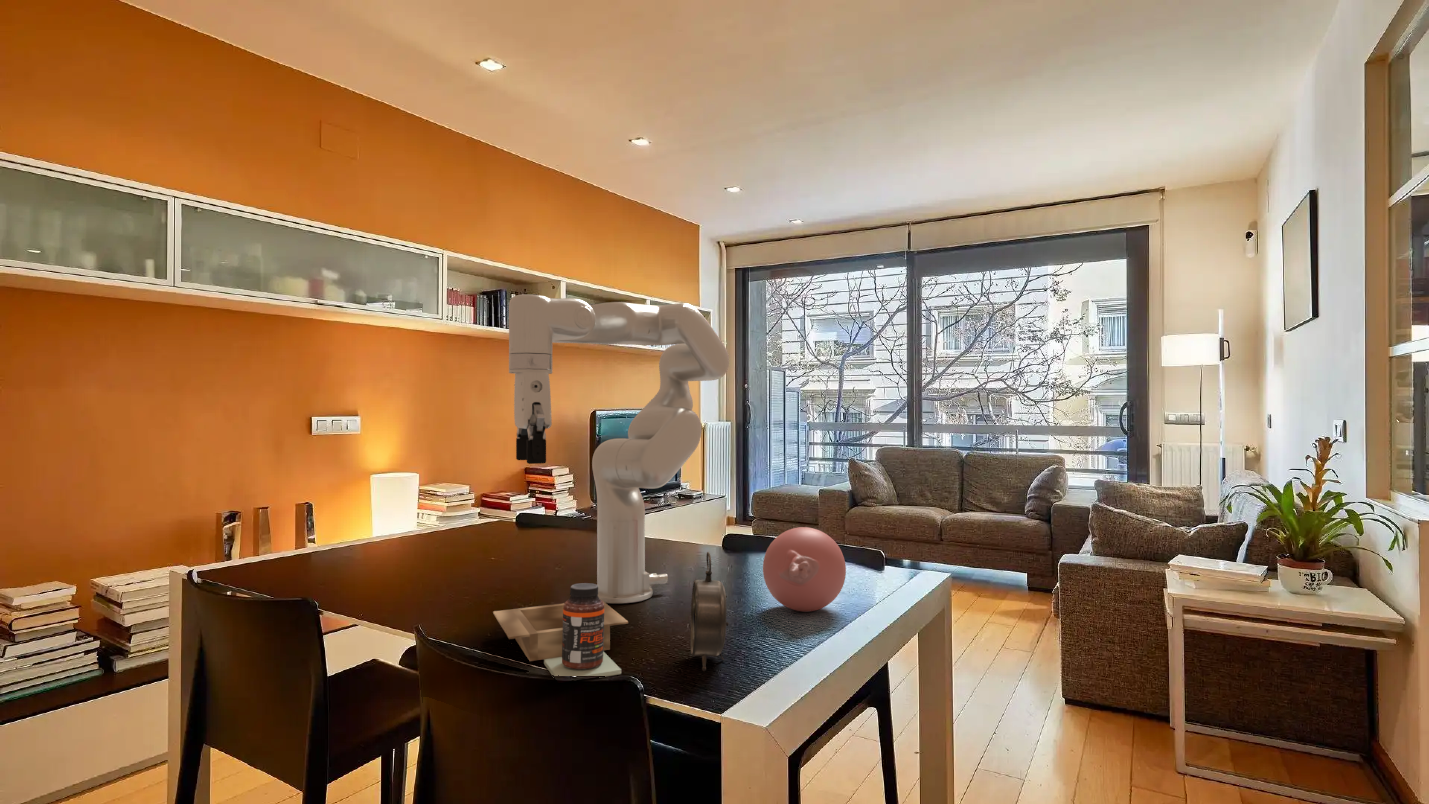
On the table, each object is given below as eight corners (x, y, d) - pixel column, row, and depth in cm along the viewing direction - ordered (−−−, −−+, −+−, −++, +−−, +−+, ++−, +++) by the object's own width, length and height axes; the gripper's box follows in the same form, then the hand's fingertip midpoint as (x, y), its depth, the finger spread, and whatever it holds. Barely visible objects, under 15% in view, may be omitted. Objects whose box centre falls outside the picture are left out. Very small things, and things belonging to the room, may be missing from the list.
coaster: (602, 654, 112) (602, 650, 112) (621, 673, 104) (621, 669, 104) (543, 663, 108) (543, 659, 108) (558, 684, 100) (558, 679, 100)
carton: (600, 621, 130) (600, 599, 130) (628, 646, 116) (628, 621, 116) (493, 635, 122) (493, 611, 122) (509, 664, 108) (509, 637, 108)
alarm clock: (689, 649, 115) (689, 545, 115) (723, 648, 115) (723, 545, 115) (693, 674, 104) (692, 559, 104) (731, 673, 104) (730, 559, 104)
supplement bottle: (581, 674, 102) (583, 592, 102) (552, 665, 106) (554, 586, 106) (612, 662, 107) (613, 585, 107) (583, 654, 110) (584, 579, 111)
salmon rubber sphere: (745, 624, 128) (745, 536, 128) (774, 596, 147) (774, 519, 147) (833, 633, 123) (832, 541, 123) (852, 603, 142) (851, 523, 142)
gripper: (563, 362, 124) (563, 464, 124) (541, 368, 140) (541, 458, 140) (518, 361, 121) (518, 465, 121) (501, 367, 136) (500, 459, 136)
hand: (530, 461), depth 130 cm, fingers open, 9 cm apart
